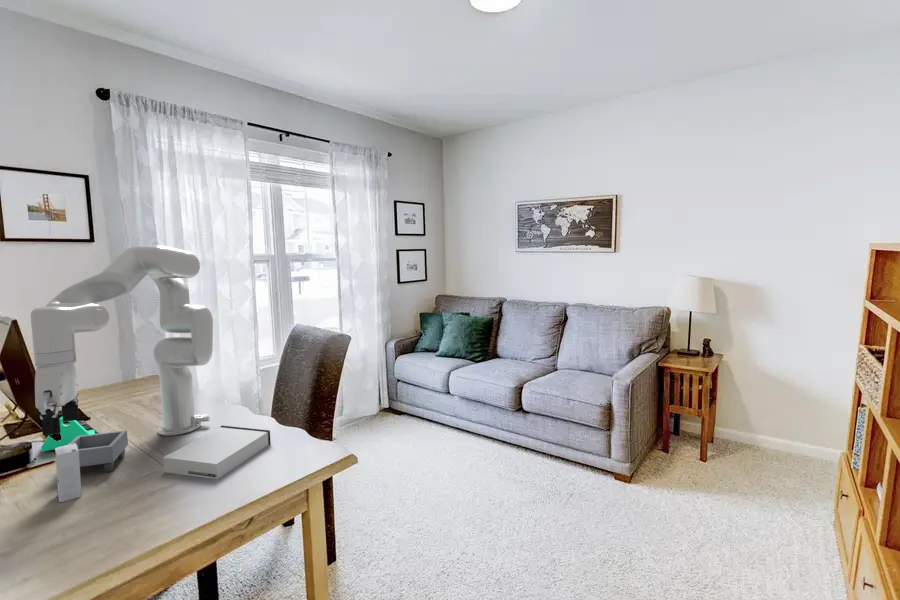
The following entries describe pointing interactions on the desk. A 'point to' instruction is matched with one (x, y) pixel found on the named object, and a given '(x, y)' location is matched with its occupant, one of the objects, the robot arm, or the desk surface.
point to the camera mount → (66, 435)
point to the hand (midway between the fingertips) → (61, 427)
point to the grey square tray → (101, 448)
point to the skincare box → (68, 472)
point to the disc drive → (217, 452)
